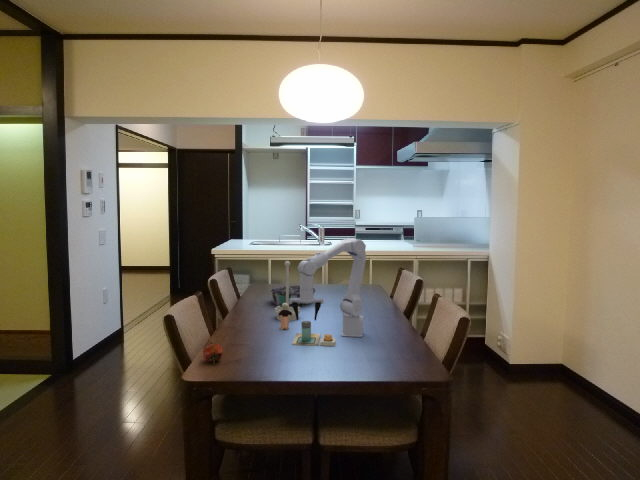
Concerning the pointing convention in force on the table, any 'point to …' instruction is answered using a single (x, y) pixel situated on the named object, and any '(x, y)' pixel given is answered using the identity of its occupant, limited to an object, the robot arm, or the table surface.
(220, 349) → the pomegranate
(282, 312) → the grandmother figurine
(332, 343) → the button housing
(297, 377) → the table surface
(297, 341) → the picture board
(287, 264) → the flag stand
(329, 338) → the button
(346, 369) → the table surface
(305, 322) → the green grey cylinder
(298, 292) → the decorative bowl
